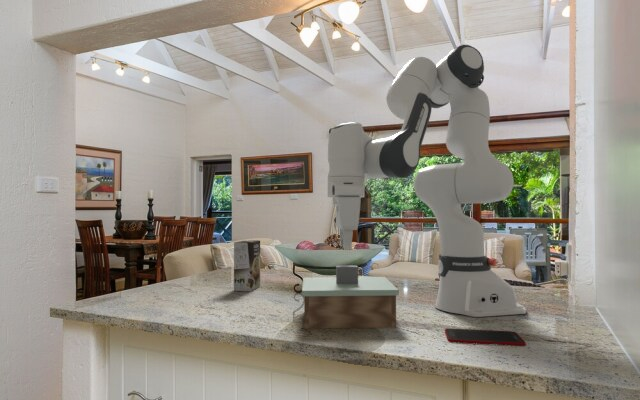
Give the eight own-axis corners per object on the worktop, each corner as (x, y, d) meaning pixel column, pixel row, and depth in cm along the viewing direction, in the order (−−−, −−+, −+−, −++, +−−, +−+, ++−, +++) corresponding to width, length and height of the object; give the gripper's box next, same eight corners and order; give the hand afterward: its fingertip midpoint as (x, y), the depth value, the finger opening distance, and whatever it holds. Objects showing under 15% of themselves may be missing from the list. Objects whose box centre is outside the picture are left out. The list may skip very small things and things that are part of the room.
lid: (384, 285, 106) (384, 261, 106) (398, 300, 89) (398, 271, 89) (303, 286, 106) (303, 261, 106) (302, 301, 89) (301, 272, 89)
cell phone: (444, 332, 90) (444, 328, 90) (515, 336, 88) (515, 331, 88) (448, 344, 83) (448, 339, 83) (527, 348, 80) (527, 343, 80)
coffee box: (251, 291, 134) (251, 242, 134) (233, 291, 135) (232, 241, 135) (261, 286, 143) (261, 239, 143) (243, 285, 144) (243, 239, 144)
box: (383, 313, 106) (383, 281, 106) (396, 331, 90) (395, 294, 90) (305, 313, 105) (305, 282, 105) (304, 332, 89) (304, 295, 89)
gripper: (330, 192, 108) (330, 245, 108) (335, 187, 88) (334, 251, 87) (354, 192, 109) (354, 245, 108) (364, 187, 88) (364, 252, 88)
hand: (345, 248), depth 98 cm, fingers open, 8 cm apart
